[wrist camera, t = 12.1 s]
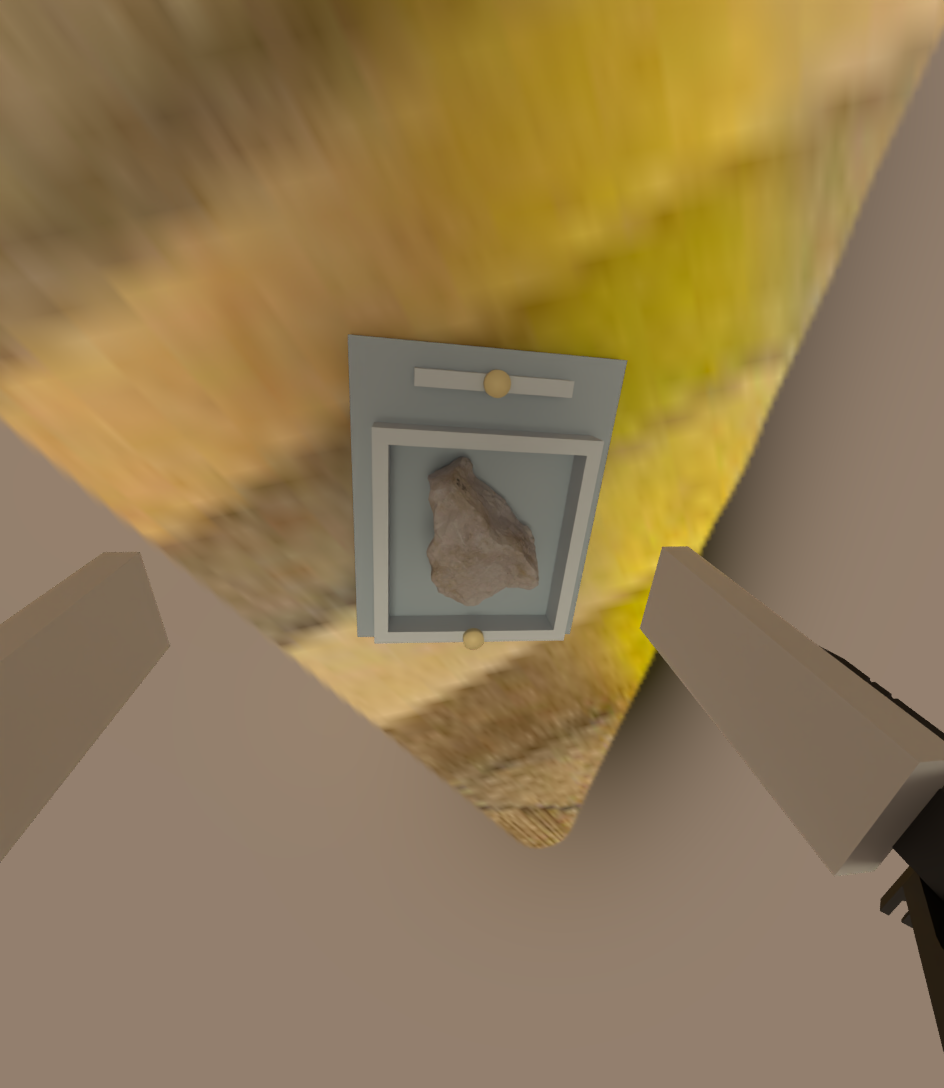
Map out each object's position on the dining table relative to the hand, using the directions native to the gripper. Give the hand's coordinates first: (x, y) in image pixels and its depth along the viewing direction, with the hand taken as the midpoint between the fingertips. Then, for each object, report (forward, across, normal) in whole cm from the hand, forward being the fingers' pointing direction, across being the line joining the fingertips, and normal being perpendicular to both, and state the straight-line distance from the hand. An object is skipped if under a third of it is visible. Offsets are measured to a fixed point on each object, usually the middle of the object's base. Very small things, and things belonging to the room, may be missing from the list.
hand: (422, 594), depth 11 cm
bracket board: (+20, +5, -5) cm, 22 cm away
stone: (+19, +4, -6) cm, 21 cm away
